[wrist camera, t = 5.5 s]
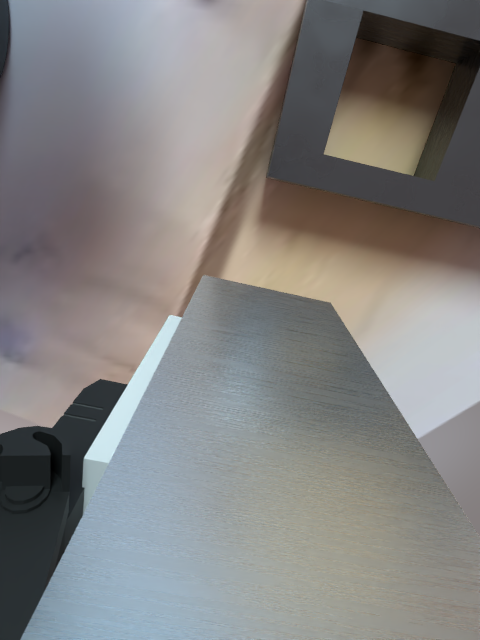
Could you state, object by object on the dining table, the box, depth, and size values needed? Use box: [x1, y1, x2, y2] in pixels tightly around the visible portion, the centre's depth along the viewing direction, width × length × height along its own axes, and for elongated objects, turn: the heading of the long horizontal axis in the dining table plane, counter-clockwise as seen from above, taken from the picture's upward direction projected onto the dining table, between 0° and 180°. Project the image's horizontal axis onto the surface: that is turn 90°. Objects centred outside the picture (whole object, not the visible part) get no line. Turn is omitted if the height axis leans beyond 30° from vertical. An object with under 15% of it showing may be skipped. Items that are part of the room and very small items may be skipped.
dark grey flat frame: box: [266, 0, 480, 228], centre depth 20 cm, size 22×10×3 cm, turn 77°
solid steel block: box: [20, 275, 480, 640], centre depth 9 cm, size 5×5×12 cm
